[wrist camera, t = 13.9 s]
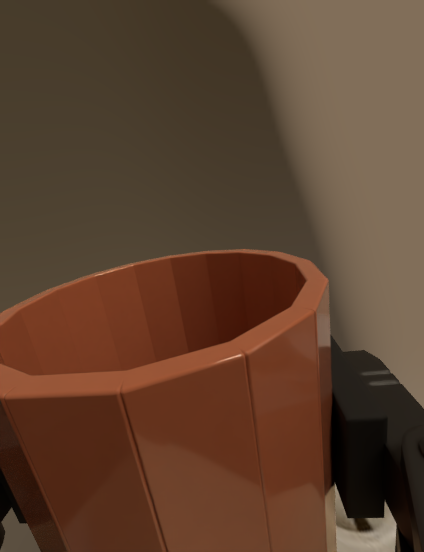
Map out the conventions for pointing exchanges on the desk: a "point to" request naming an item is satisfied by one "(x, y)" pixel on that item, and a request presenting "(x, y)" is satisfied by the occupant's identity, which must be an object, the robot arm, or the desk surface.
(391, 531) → the desk surface
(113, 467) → the cup
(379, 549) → the desk surface
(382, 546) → the desk surface
